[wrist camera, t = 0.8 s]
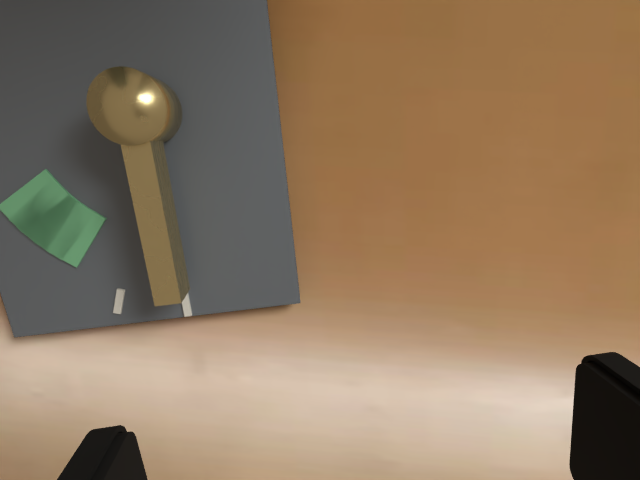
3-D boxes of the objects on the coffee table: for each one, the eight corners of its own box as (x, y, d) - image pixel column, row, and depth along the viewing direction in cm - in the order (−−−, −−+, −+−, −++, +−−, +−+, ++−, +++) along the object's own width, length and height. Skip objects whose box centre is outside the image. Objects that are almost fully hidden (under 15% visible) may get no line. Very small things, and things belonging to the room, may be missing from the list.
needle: (109, 80, 24) (78, 69, 21) (176, 74, 25) (157, 63, 21) (152, 288, 28) (132, 310, 24) (211, 281, 28) (200, 302, 24)
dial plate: (-86, -48, 23) (-114, -62, 22) (258, -69, 25) (257, -84, 23) (27, 327, 29) (12, 338, 28) (299, 295, 31) (300, 304, 29)
